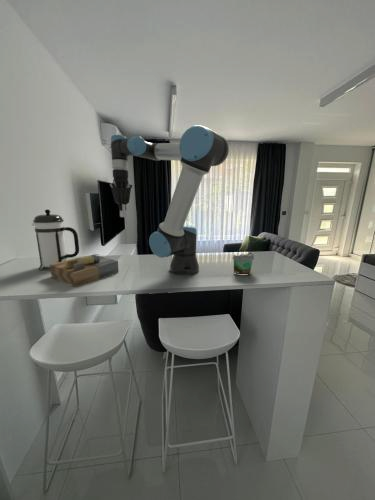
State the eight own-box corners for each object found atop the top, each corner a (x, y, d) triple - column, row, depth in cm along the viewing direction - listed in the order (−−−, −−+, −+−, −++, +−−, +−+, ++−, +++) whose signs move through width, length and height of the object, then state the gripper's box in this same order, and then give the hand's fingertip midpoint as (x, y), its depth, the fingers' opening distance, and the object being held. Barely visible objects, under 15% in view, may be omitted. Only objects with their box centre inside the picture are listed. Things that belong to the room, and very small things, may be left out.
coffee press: (45, 274, 101) (36, 210, 94) (33, 267, 110) (24, 209, 103) (81, 265, 114) (75, 209, 107) (68, 260, 124) (61, 208, 117)
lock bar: (97, 260, 103) (97, 253, 102) (101, 261, 101) (100, 255, 100) (64, 266, 92) (63, 259, 91) (67, 268, 90) (66, 261, 89)
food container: (240, 278, 101) (242, 258, 98) (231, 274, 106) (232, 255, 103) (257, 273, 107) (259, 254, 105) (248, 270, 112) (249, 252, 110)
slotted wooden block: (118, 272, 105) (117, 255, 103) (75, 286, 87) (72, 267, 85) (94, 265, 116) (93, 249, 114) (51, 276, 98) (49, 258, 96)
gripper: (125, 171, 114) (127, 215, 120) (104, 168, 103) (107, 217, 109) (135, 170, 110) (137, 216, 116) (114, 167, 99) (117, 218, 105)
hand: (122, 216), depth 112 cm, fingers closed
